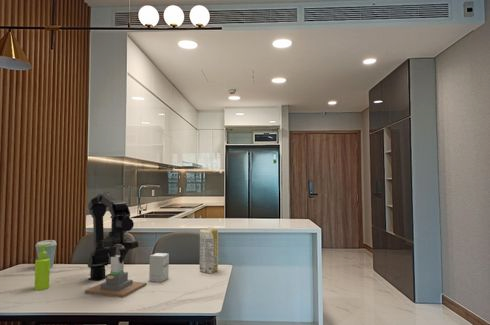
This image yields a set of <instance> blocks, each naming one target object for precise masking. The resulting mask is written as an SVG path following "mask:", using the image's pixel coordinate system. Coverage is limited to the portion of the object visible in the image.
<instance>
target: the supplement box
mask: <svg viewBox="0 0 490 325" xmlns="http://www.w3.org/2000/svg"><path fill="white" fill-rule="evenodd" d="M169 254H170V253H165V252H156V253H154V254H151V255H149V275H148V276H149V277H148V278H149V279H148V281H149V282H154V281H155V282H156V283H163V282H164V281H165V280H167V279H169V268H170V267H169V260H170V259H169V258H170V257H169V256H170V255H169ZM155 282H154V283H155Z"/></svg>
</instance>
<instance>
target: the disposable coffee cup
mask: <svg viewBox="0 0 490 325" xmlns="http://www.w3.org/2000/svg"><path fill="white" fill-rule="evenodd" d="M42 244H52V245H48V246H45V251H47V258H49V259H50V269H52V268H53V266H54V262H55V256H56V248H57V245H58V244H57V242H56V240H54V239H47V240H41V241H38V242H37V243H36V244H35V250H36V254H37V259H39V252H40V251H41V247H39V245H42Z"/></svg>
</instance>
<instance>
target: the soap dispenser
mask: <svg viewBox="0 0 490 325" xmlns="http://www.w3.org/2000/svg"><path fill="white" fill-rule="evenodd" d="M48 245H52V244H42V245H39V247H41V251H40V252H39V259H38V258H37V259H35V261H34V262H35V264H34V291H43V290H47V289H49V288H50V276H51V275H50V273H51V270H50V269H51V268H50V259H49V258H47V251H45V246H48Z"/></svg>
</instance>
